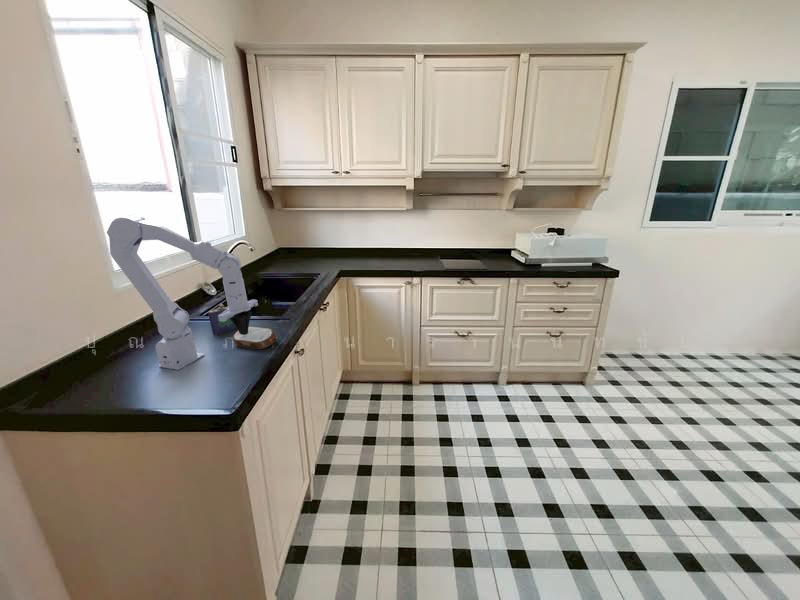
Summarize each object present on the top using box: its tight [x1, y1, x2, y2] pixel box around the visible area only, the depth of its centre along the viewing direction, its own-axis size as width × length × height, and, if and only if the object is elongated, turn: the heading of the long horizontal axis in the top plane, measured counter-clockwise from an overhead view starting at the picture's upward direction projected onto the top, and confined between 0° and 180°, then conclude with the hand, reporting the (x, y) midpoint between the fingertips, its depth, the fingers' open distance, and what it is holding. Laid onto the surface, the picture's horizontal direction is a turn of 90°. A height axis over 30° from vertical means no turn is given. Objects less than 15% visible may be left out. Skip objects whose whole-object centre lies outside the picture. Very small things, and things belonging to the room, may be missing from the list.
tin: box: [232, 325, 277, 350], centre depth 113 cm, size 15×3×8 cm
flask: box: [207, 303, 238, 336], centre depth 123 cm, size 9×3×11 cm, turn 138°
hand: (244, 333), depth 109 cm, fingers closed
